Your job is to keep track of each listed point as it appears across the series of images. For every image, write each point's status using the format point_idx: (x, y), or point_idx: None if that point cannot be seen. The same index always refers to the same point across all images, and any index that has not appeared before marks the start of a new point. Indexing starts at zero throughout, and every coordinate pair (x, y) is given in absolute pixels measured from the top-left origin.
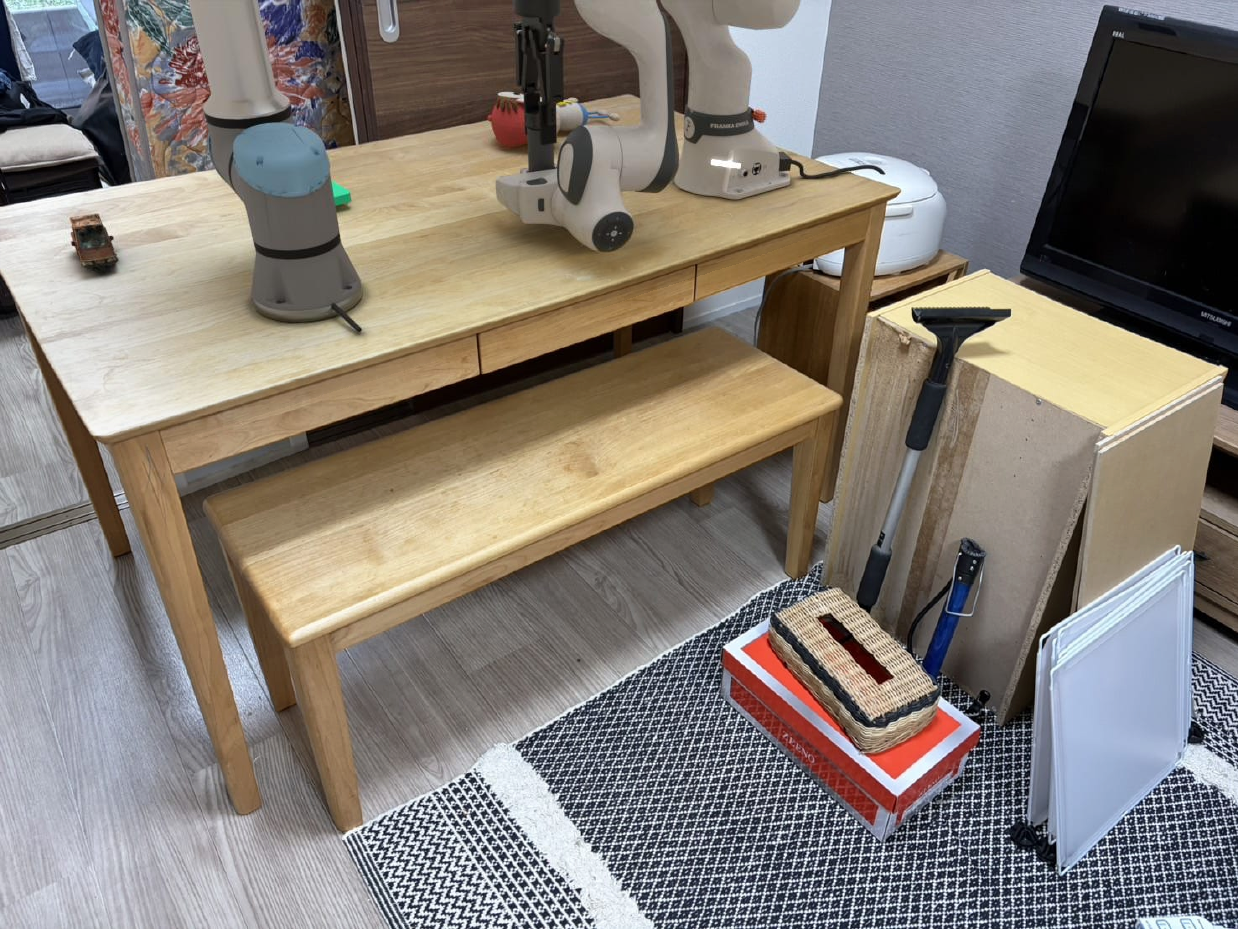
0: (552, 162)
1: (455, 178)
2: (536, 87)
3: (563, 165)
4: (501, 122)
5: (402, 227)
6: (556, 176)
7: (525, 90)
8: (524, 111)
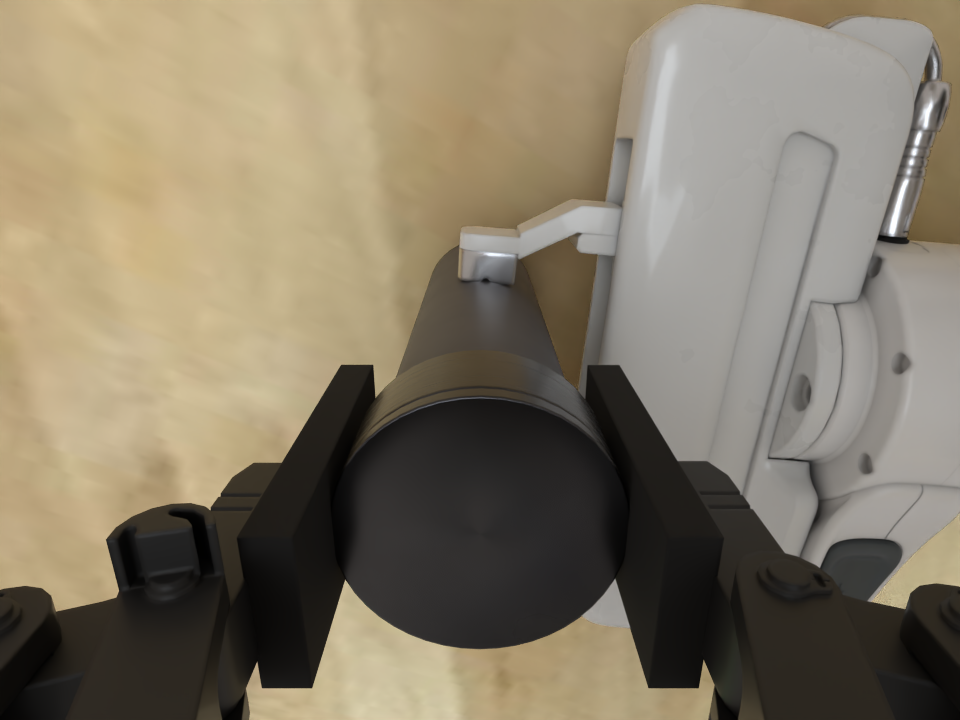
0: (543, 324)
1: (34, 444)
2: (226, 608)
3: None
4: None
5: (413, 703)
6: (918, 504)
7: (248, 708)
8: (428, 636)
